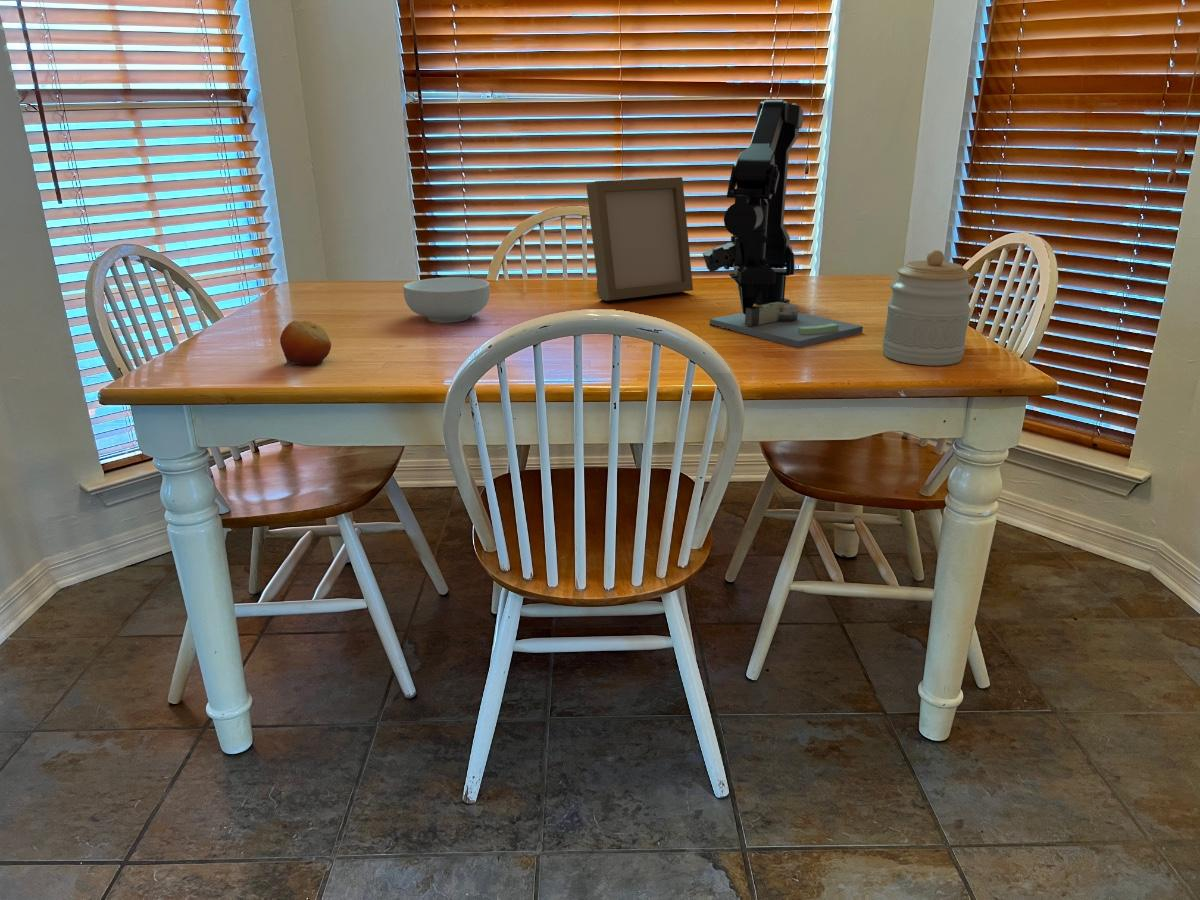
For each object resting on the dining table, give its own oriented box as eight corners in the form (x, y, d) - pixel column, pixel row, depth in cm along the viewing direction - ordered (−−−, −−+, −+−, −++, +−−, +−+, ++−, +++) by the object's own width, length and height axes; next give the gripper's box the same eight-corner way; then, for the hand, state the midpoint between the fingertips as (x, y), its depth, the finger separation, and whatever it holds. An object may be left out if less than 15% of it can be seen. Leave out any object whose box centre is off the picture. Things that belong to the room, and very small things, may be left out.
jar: (980, 363, 141) (998, 254, 134) (911, 370, 138) (926, 258, 131) (930, 344, 153) (944, 242, 146) (866, 350, 149) (878, 246, 143)
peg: (783, 314, 169) (784, 297, 168) (802, 318, 165) (804, 302, 164) (738, 323, 162) (739, 306, 161) (757, 328, 158) (759, 310, 157)
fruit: (277, 349, 145) (297, 308, 143) (321, 371, 147) (341, 331, 145) (264, 361, 138) (284, 319, 136) (310, 385, 140) (331, 343, 138)
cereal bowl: (506, 314, 177) (505, 279, 174) (461, 331, 162) (459, 294, 160) (437, 306, 183) (435, 273, 181) (388, 323, 169) (385, 287, 167)
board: (773, 312, 177) (773, 301, 176) (862, 332, 161) (863, 320, 160) (709, 324, 167) (710, 313, 166) (798, 347, 150) (799, 335, 150)
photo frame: (692, 294, 194) (697, 178, 185) (609, 304, 184) (609, 183, 175) (657, 284, 206) (659, 174, 197) (576, 293, 196) (575, 178, 187)
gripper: (699, 223, 167) (696, 304, 172) (715, 236, 149) (711, 325, 155) (756, 223, 167) (751, 303, 173) (779, 236, 150) (773, 324, 155)
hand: (745, 313), depth 164 cm, fingers closed
